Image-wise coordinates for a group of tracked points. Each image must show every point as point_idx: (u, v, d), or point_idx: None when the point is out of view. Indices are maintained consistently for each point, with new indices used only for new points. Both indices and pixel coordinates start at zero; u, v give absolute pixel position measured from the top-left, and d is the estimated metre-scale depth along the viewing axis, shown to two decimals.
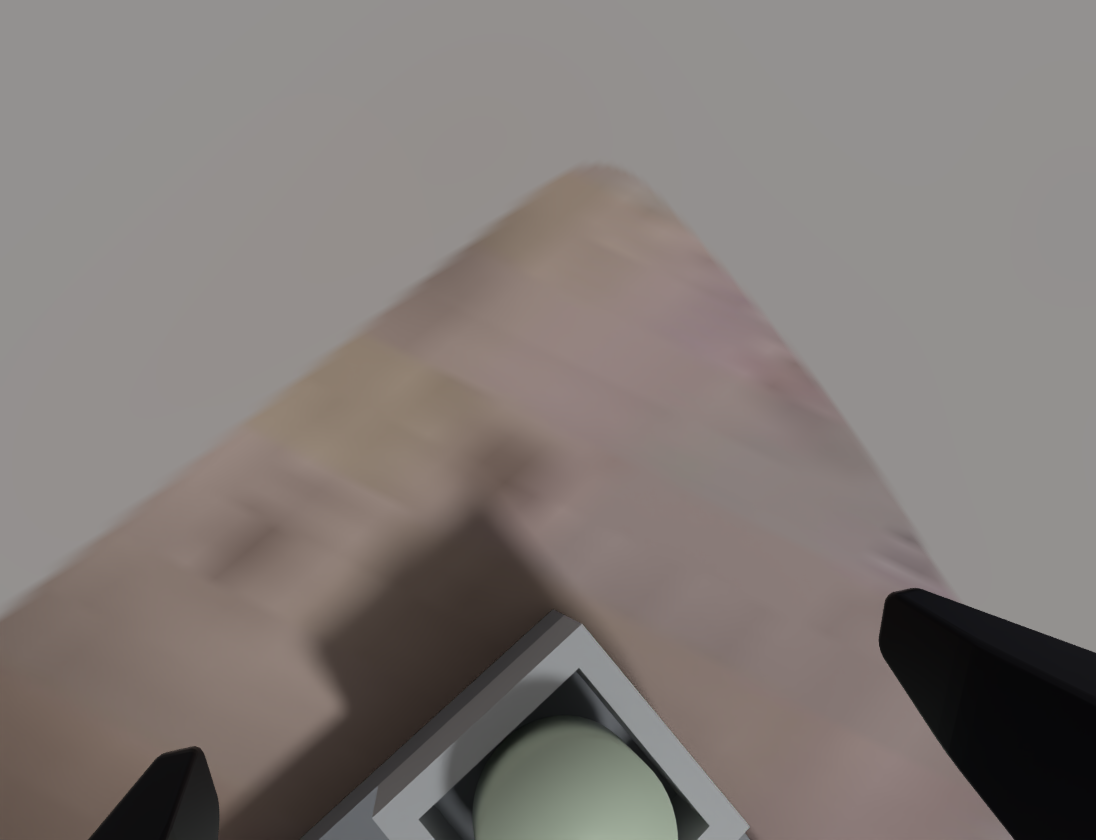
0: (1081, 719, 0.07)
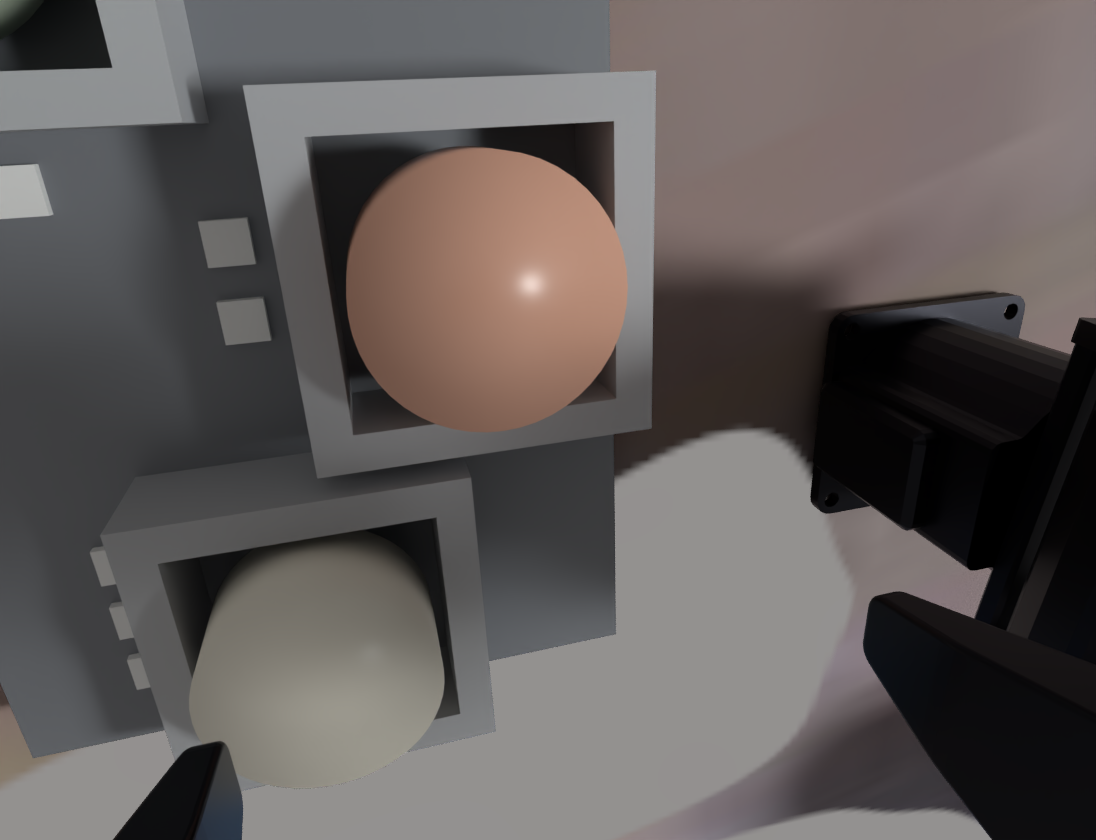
0: (1061, 725, 0.07)
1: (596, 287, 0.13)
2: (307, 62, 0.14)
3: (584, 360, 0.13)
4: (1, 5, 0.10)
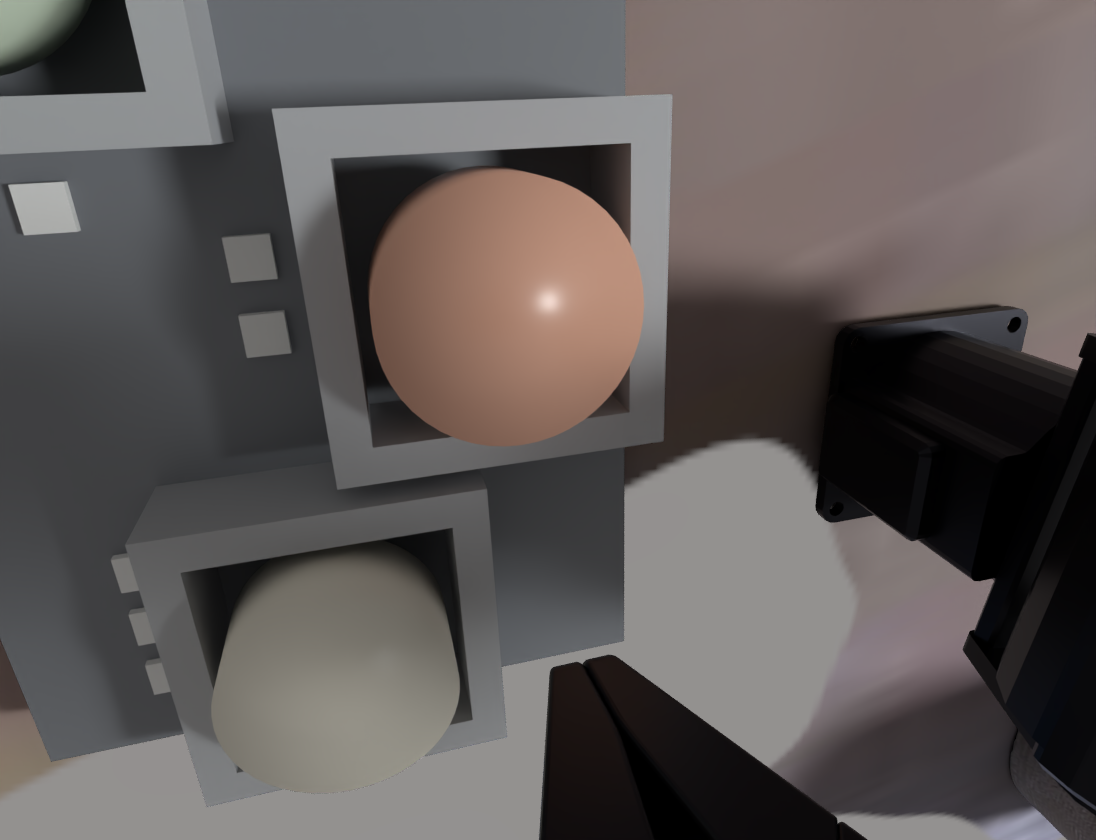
0: (685, 831, 0.06)
1: (613, 305, 0.13)
2: (330, 82, 0.14)
3: (601, 377, 0.13)
4: (40, 32, 0.10)
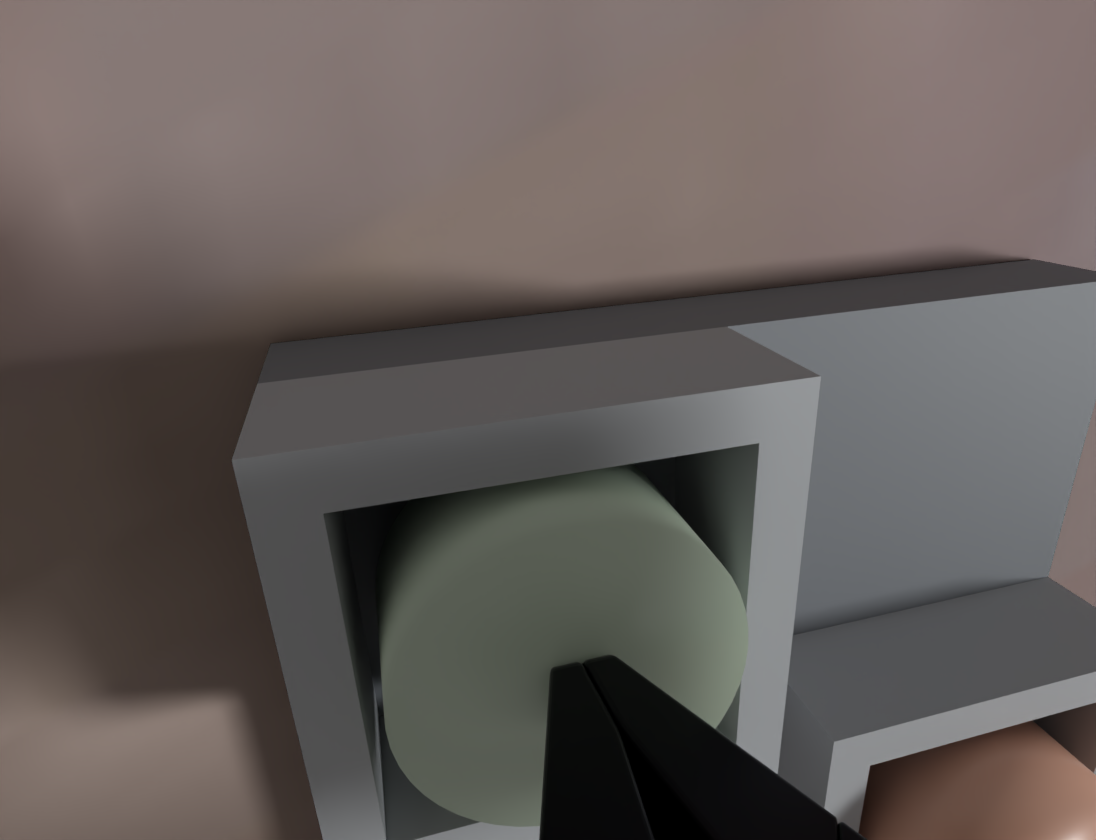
0: (686, 831, 0.06)
1: None
2: (801, 614, 0.14)
3: None
4: None
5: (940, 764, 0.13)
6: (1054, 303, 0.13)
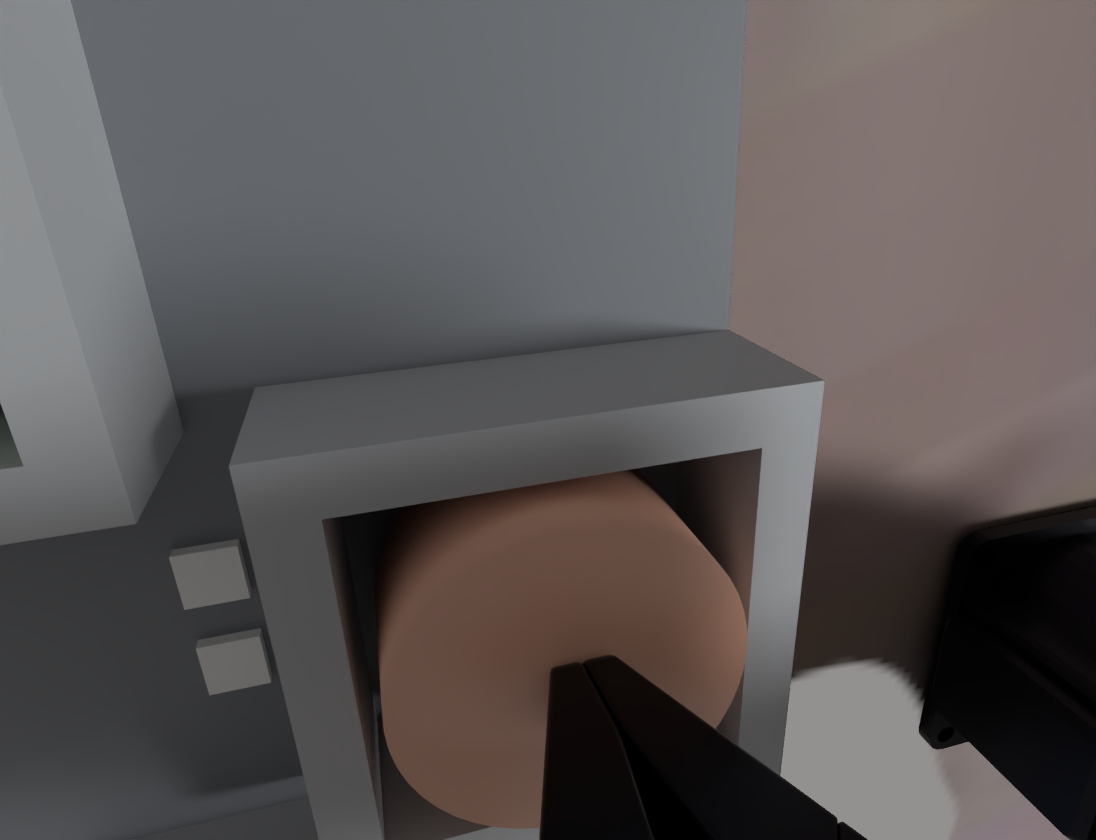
0: (686, 831, 0.06)
1: (707, 654, 0.10)
2: (322, 344, 0.10)
3: None
4: None
5: None
6: None
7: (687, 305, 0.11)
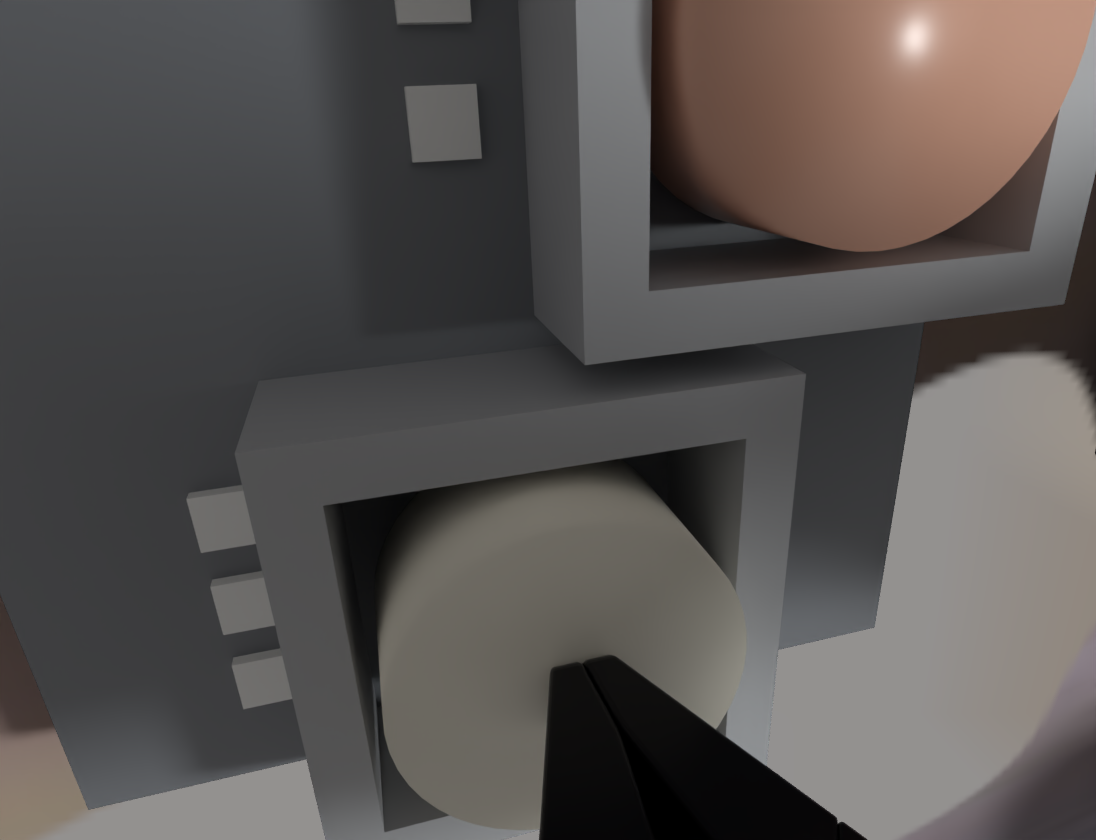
0: (686, 831, 0.06)
1: (1053, 10, 0.08)
2: None
3: (1010, 139, 0.08)
4: None
5: None
6: None
7: None
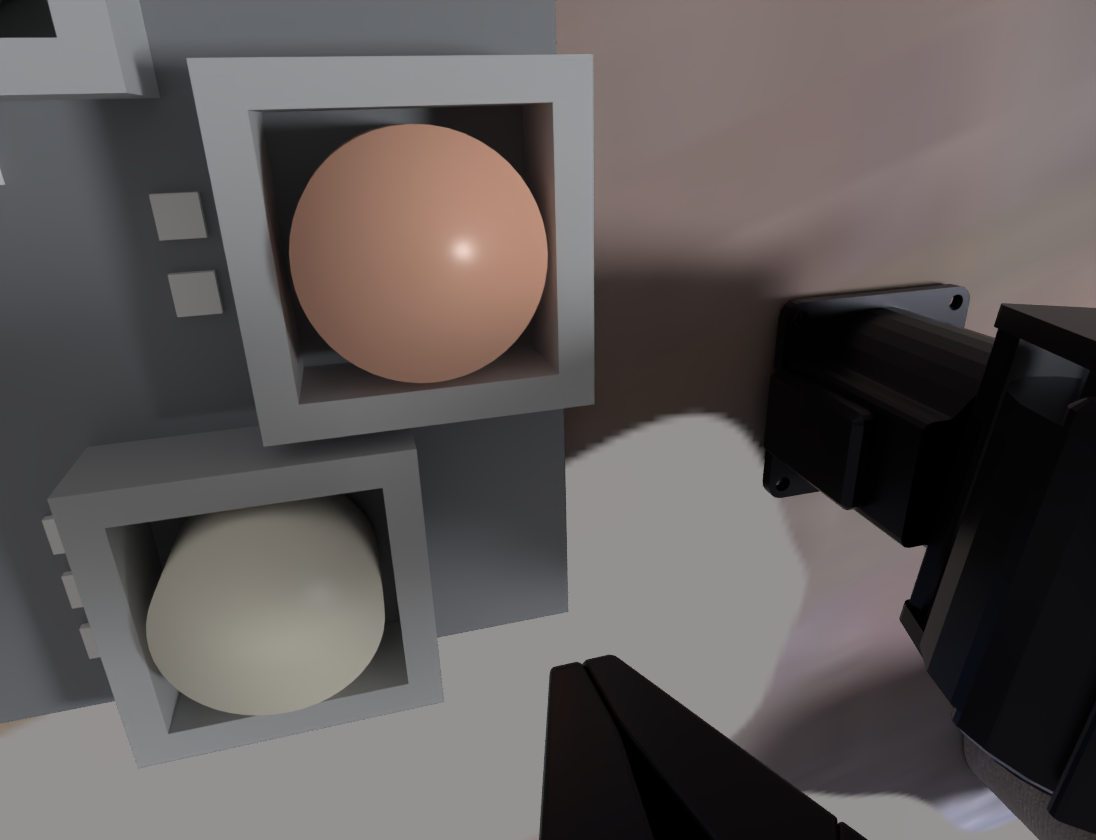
0: (686, 831, 0.06)
1: (518, 252, 0.14)
2: (257, 40, 0.14)
3: (509, 319, 0.14)
4: None
5: (347, 141, 0.14)
6: None
7: (523, 40, 0.15)
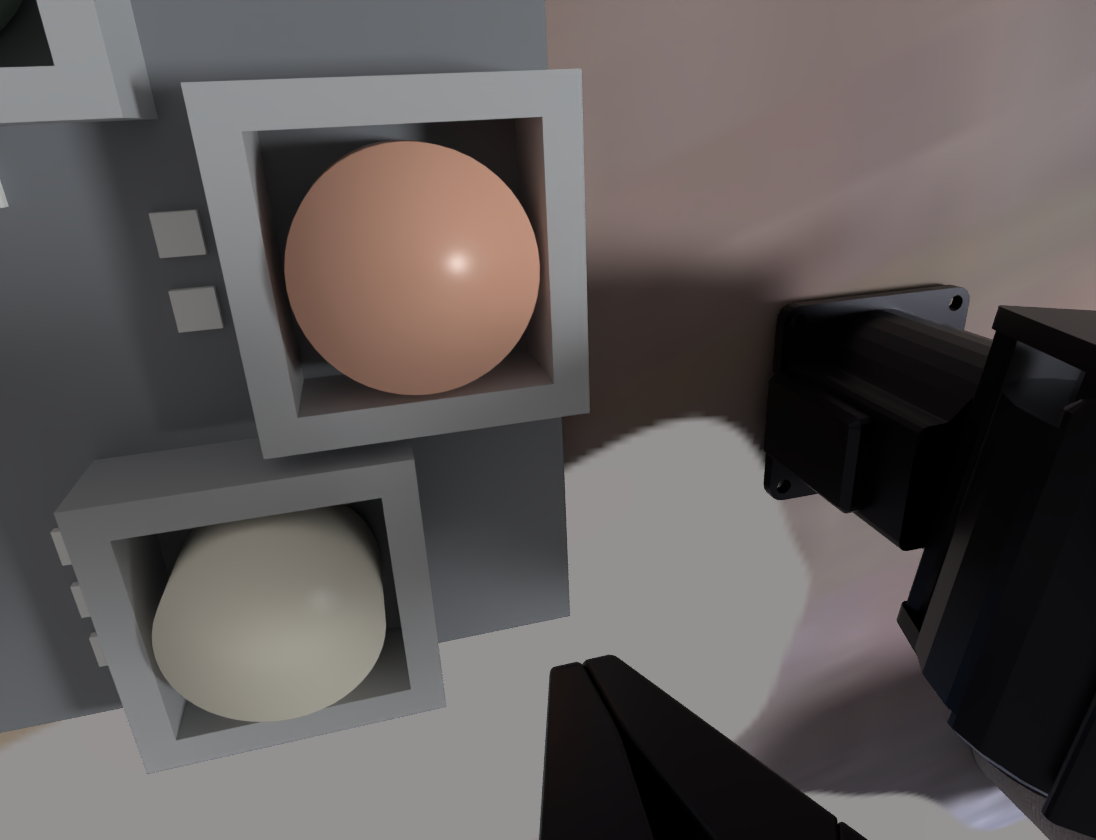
0: (686, 831, 0.06)
1: (511, 265, 0.14)
2: (252, 60, 0.14)
3: (503, 331, 0.15)
4: None
5: (341, 158, 0.14)
6: None
7: (515, 54, 0.15)
